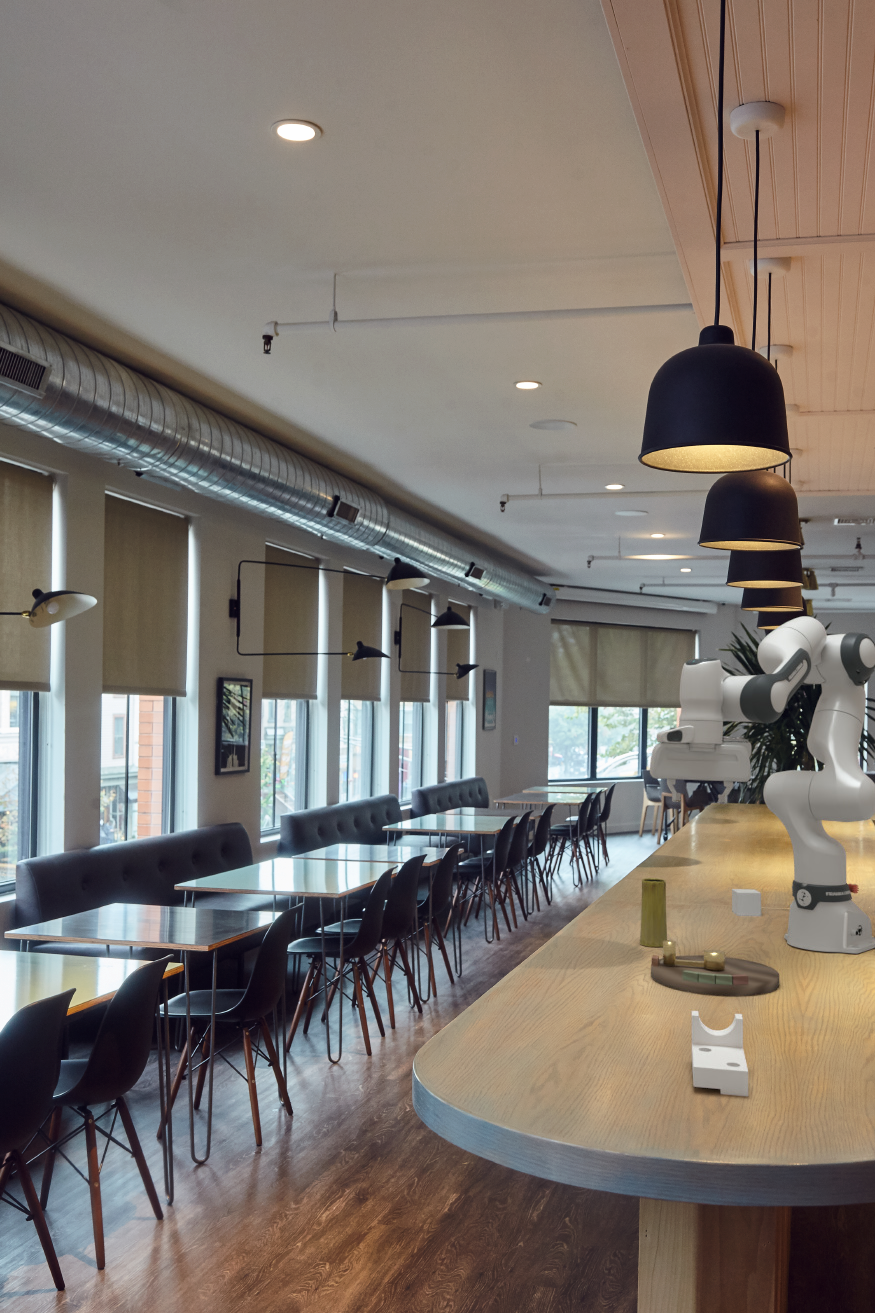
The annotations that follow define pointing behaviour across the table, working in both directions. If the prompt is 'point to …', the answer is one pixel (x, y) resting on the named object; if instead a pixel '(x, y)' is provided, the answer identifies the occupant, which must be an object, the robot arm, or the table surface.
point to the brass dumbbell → (711, 961)
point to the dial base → (732, 967)
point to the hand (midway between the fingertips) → (699, 802)
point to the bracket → (719, 1057)
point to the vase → (653, 913)
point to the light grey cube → (746, 902)
